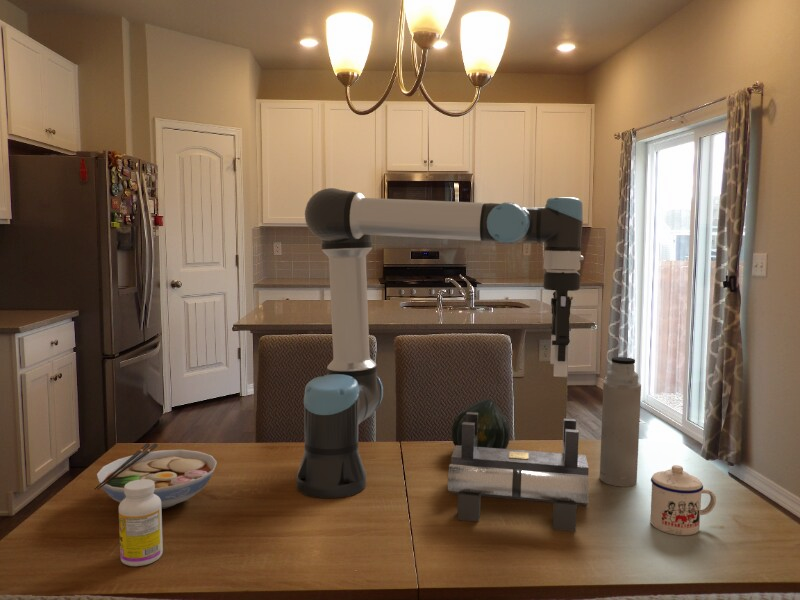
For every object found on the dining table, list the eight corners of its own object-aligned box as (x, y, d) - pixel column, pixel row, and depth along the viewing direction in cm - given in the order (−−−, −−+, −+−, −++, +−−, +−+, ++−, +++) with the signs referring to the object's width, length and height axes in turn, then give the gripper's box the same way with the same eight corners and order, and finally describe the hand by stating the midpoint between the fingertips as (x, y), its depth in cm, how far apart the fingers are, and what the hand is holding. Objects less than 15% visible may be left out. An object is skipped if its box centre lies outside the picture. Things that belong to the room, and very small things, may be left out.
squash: (433, 437, 158) (473, 396, 154) (451, 423, 172) (489, 385, 167) (473, 481, 155) (516, 440, 150) (489, 464, 168) (529, 426, 164)
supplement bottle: (128, 549, 111) (125, 476, 110) (167, 548, 111) (165, 476, 110) (114, 568, 104) (111, 492, 103) (156, 567, 105) (154, 491, 104)
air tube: (447, 495, 123) (447, 469, 123) (450, 484, 128) (451, 460, 128) (588, 508, 118) (589, 481, 117) (585, 496, 123) (586, 471, 122)
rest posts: (457, 519, 124) (458, 494, 123) (460, 511, 128) (460, 486, 127) (575, 531, 119) (576, 505, 119) (574, 522, 123) (575, 497, 123)
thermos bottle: (596, 473, 150) (601, 354, 147) (631, 474, 149) (636, 355, 146) (603, 485, 142) (608, 360, 139) (640, 487, 141) (646, 361, 139)
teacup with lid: (659, 536, 118) (662, 474, 117) (641, 515, 127) (644, 458, 126) (725, 537, 118) (729, 475, 117) (702, 516, 127) (706, 458, 126)
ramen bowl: (191, 532, 117) (190, 489, 116) (69, 528, 118) (68, 485, 118) (234, 481, 142) (233, 445, 141) (133, 478, 143) (132, 442, 143)
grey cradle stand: (449, 495, 136) (451, 423, 134) (455, 478, 145) (456, 411, 144) (587, 507, 130) (590, 433, 129) (583, 489, 140) (586, 419, 138)
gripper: (586, 274, 123) (581, 383, 125) (575, 269, 148) (571, 360, 150) (546, 273, 125) (542, 381, 127) (541, 268, 149) (538, 358, 151)
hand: (558, 370), depth 138 cm, fingers open, 13 cm apart
